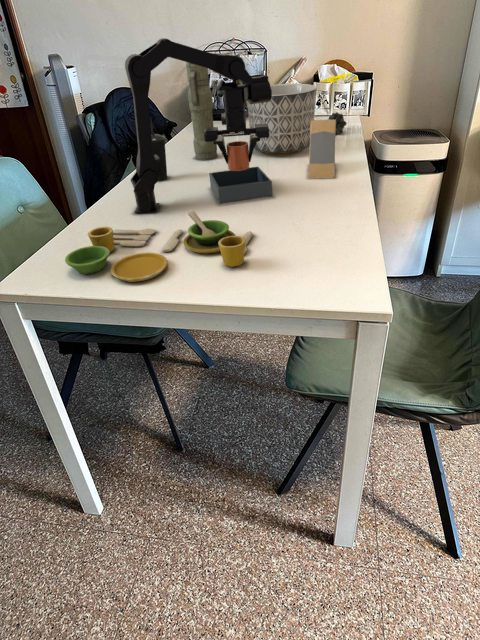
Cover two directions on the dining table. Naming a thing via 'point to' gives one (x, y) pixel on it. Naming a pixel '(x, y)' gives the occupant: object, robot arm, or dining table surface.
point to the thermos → (200, 110)
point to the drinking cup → (159, 152)
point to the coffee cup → (238, 155)
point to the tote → (240, 185)
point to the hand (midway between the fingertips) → (238, 162)
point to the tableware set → (149, 265)
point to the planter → (285, 118)
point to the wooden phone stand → (322, 149)
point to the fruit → (338, 122)
